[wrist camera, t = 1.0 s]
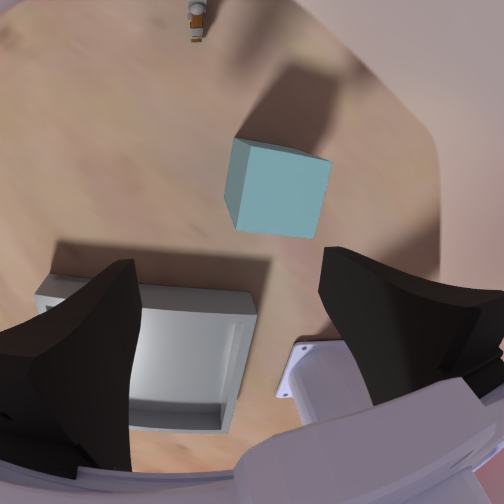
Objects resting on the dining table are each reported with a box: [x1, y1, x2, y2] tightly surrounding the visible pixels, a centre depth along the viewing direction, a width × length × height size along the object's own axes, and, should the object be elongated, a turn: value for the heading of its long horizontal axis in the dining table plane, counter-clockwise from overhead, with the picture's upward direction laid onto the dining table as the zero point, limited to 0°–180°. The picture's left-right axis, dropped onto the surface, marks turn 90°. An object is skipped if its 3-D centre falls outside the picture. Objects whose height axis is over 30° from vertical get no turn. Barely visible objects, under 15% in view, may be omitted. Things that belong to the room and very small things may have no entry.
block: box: [224, 138, 332, 239], centre depth 16 cm, size 4×4×6 cm
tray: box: [34, 273, 257, 434], centre depth 23 cm, size 16×16×3 cm
